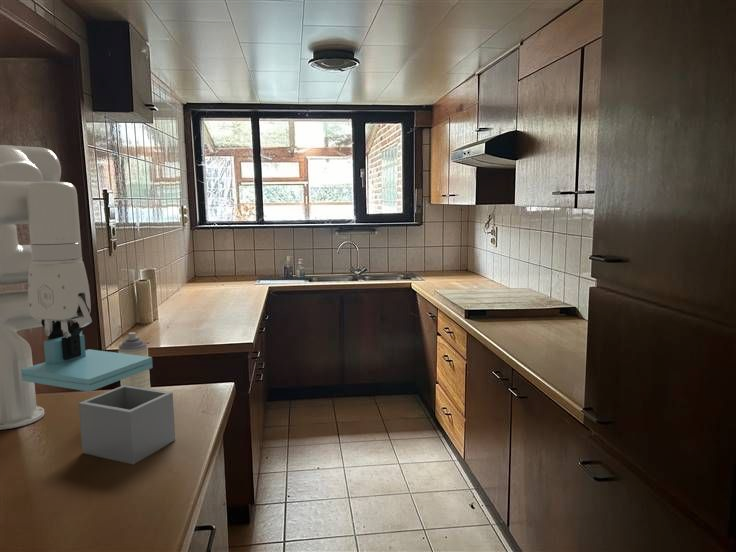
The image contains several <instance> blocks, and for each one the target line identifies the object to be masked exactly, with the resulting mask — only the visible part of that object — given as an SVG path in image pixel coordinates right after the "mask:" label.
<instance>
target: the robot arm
mask: <svg viewBox="0 0 736 552" xmlns="http://www.w3.org/2000/svg"><path fill="white" fill-rule="evenodd" d="M60 163H61V162H60V160H59V158H58V157H57V155H56V154H55V153H54V152H53V151H52V150H51V149H50V148H45V147H39V146H24V145H13V144H11V145H9V144H8V145H7V144H0V287H7V286H19V285H28V286H27V289H21V290H20V289H19V290H8V291H0V430H8V429H17V428H19V427H23V426H27V425H30V424H32V423H35V422H37V421H39V420H41V418H43V417H44V416H45V408H43V407H42V406H39V405H37V398H36V397H37V395H36V388H35V387H36V386H35V384H36V383H33V382H27V381H22V374H21V369H23V368H27V367H30V366H34V365H33V354H32V347H31V345H30V343H29V342H28V340H26V339H25V338H23V337H22V336H20V335H19V334H18V333H17V332H18V331H23V330H28V329H35V328H40V327H43V328H44V334H45V335H46V336H47V340H51V339H55V338H59V337H63V336H64V337H63V338H61V340H62V351H63V359H64V360H69V359H72V358H75V357H79V356H81V345H80V334H83V329H84V328H85V327H86V326H88V325H90V324H92V323H93V320H92V317H91V315H90V314H91V309H92V308H91V307H92V306H91V305H92V304H91V293H90V285H89V280H88V275H87V271H86V267H85V263H84V261H83V254H82V253H83V252H82V240H81V228H80V227H81V226H80V216H79V215H80V213H79V204H78V203H79V201H78V193H77V188H76V186H75V185H74V184H72V183H71V182H66V181H61V175H62V167H61V164H60ZM17 225H28V230H29V239H30V244H25V245H24V244H20V243H19V239H18V230H17V229H18V228H17ZM71 323H72V324H71Z"/></svg>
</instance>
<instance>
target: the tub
mask: <svg viewBox="0 0 736 552" xmlns="http://www.w3.org/2000/svg"><path fill="white" fill-rule="evenodd" d="M173 394H174V393H173V392H171V391H167V390H165V391H164V390H159V389H152V388H150V389H147V388H140V387H134V386H127V385H123V386H121V385H120V386H118V387H116V388H114V389H110V390H108V391H105V392H103V393H101V394H98V395H95V396H93V397H91V398H88V399H86V400H83V401H80V402H78V413H79V425H80V435H81V436H80V438H81V449H82V454H85V455H90V456H94V457H99V458H103V459H108V460H112V461H115V462H116V461H117V462H121V463H124V464H130V465H135V464H136V463H139V462H140V461H141V460H144V459H145V458H147V457H149V456H150V455H152V454H154V453H156V452H157V451H159V450H160V449H163V448H164V447H166V446H168V445H169V444H171V443H172V442H174V441H176V427H175V426H176V425H175V412H174V411H175V410H174V409H175V408H174V395H173Z"/></svg>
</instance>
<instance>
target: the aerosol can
mask: <svg viewBox="0 0 736 552" xmlns="http://www.w3.org/2000/svg"><path fill="white" fill-rule="evenodd" d="M117 353H123V354H131V355H139V356H147V357H149V346H148V344H147V342H145V341H143V339H141V338H139V337H138V336H137V333H136V332H133V331H132V332H128V337H127V338H126V339H125V340H124V341H122V344H120V345H119V346H118V352H117ZM150 376H151V375H150V369H148V370H146V371H143V372H140V373H138V374H135V375H132V376H130V377H127V378H125V379H122V380H119V381H120V386H123V385H127V386H134V387H140V388H147V389H151V381H150V380H151V379H150V378H151V377H150Z"/></svg>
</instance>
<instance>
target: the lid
mask: <svg viewBox="0 0 736 552" xmlns="http://www.w3.org/2000/svg"><path fill="white" fill-rule="evenodd" d="M63 337H64V336H63ZM63 337H59V338H55V339H51V340H48V339H47V340H44V341H43V349H44V362H41V363H38V364H34V365H33V366H30V367H27V368H23V369H21V374H22V381H27V382H33V383H34V384H40V385H47V386H52V387H58V388H65V389H70V390H71V389H72V390H77V391H82V392H87V393H88V392H93V391H95V390H98V389H101V388H103V387H106V386H108V385H111V384H114V383H116V382H119V381H120V380H122V379H125V378H127V377H130V376H132V375H135V374H138V373H140V372H143V371H146V370H148V369H149V370H150V369H151V370H152V369H153V364H154V363H153V356H148V357H147V356H139V355H131V354H123V353H118V352H115V351H114V352H113V351H105V350H97V349H89V348H88V349H86V341H85V334H83V333H82V334H80V345H81V356H79V357H75V358H72V359H69V360H64V359H63V351H62V340H61V338H63Z"/></svg>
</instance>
